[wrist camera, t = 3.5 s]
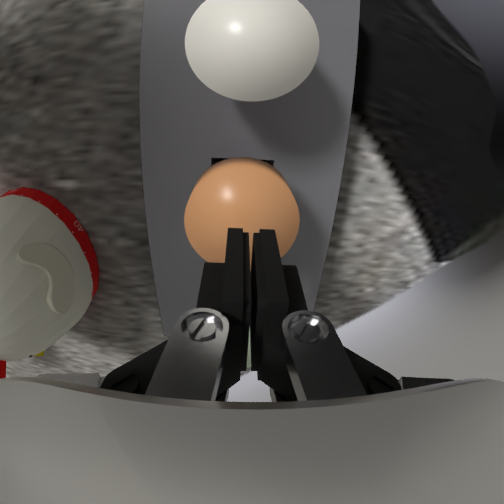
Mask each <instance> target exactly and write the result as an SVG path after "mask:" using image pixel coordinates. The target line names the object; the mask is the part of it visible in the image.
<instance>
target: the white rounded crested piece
mask: <svg viewBox="0 0 504 504" xmlns="http://www.w3.org/2000/svg"><path fill="white" fill-rule="evenodd" d="M99 273H100V272H99V267H98V262H97V257H96V252H95V250H94V248H93V246H92V244H91V241H90V239H89V237H88V234H87V233H86V231H85V230H84V228H83V227H82V226H81V224H80V223H79V221H78V220H77V219H76V217H75V216H74V214H73V213H71V212H70V211H69V210H68V209H67V208H66V207H65V206H64V205H63V204H61V203H60V202H59V201H58V200H57V199H55V198H54V197H52V196H50V195H48V194H46V193H44V192H42V191H40V190H37V189H31V188H25V187H22V188H17V189H13V190H9V191H8V192H6V193H5V194H3V195H2V196H1V197H0V379H2V378H6V361H16V360H22V359H26V358H29V357H32V356H43V354H44V350H46V349H47V348H48V347H50V346H51V345H52V344H54V343H55V342H56V341H57V340H59V339H60V338H61V337H62V336H63V335H64V334H65V333H67V332H68V331H69V330H70V329H71V328H72V327H73V326H74V325H75V324H76V323H77V322H78V321H79V320H80V319H81V318H82V317H83V315H84V314H85V312H86V311H87V309H88V307H89V305H90V303H91V301H92V299H93V297H94V295H95V293H96V291H97V289H98V282H99Z"/></svg>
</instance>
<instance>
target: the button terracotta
mask: <svg viewBox="0 0 504 504" xmlns="http://www.w3.org/2000/svg"><path fill="white" fill-rule="evenodd" d="M299 221H300V218H299V210H298V206H297V203H296V201H295V198H294V196H293V194H292V191H291V189H290V187H289V185H288V183H287V181H286V180H285V178H284V177H283V175H282V174H281V173H280V172H279V171H278V170H277V169H276V168H274V167H273V166H271V165H270V164H268V163H266V162H264V161H262V160H259V159H255V158H251V157H233V158H228V159H225V160H222V161H220V162H217V163H216V164H214V165H212V166H211V167H209V168H208V169H207V170H206V171H205V172H204V173H203V174H202V175H201V176H200V177H199V179H198V180H197V182H196V184H195V186H194V188H193V191H192V193H191V195H190V198H189V200H188V203H187V206H186V209H185V215H184V225H185V231H186V235H187V237H188V240H189V242H190V244H191V245H192V247H193V248H194V250H195V251H196V252H197V253H198V254H199V255H200V256H201V257H202V258H203V259H204V260H206V261H207V262H214V263H225V254H226V243H227V232H228V228H243V232H249V248H250V271H251V260H252V245H253V233H259V229H273V230H275V232H276V237H277V242H278V247H279V252H280V257H282V256H284V255H285V254H286V252H287V251H288V250H289V249H290V247H291V246H292V245H293V243H294V241H295V239H296V236H297V233H298V229H299Z"/></svg>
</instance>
